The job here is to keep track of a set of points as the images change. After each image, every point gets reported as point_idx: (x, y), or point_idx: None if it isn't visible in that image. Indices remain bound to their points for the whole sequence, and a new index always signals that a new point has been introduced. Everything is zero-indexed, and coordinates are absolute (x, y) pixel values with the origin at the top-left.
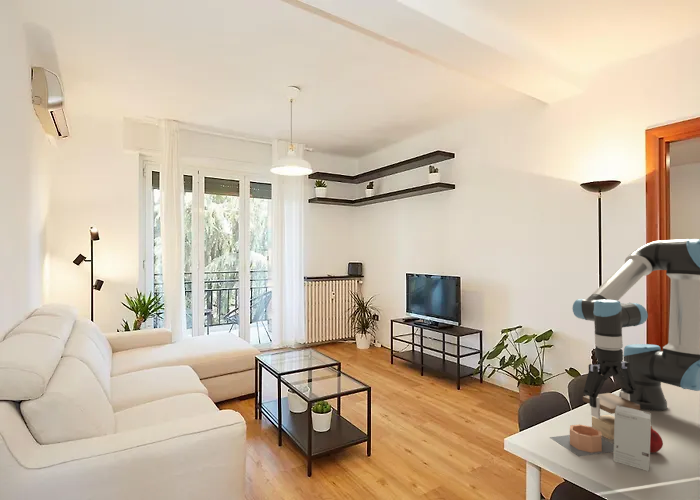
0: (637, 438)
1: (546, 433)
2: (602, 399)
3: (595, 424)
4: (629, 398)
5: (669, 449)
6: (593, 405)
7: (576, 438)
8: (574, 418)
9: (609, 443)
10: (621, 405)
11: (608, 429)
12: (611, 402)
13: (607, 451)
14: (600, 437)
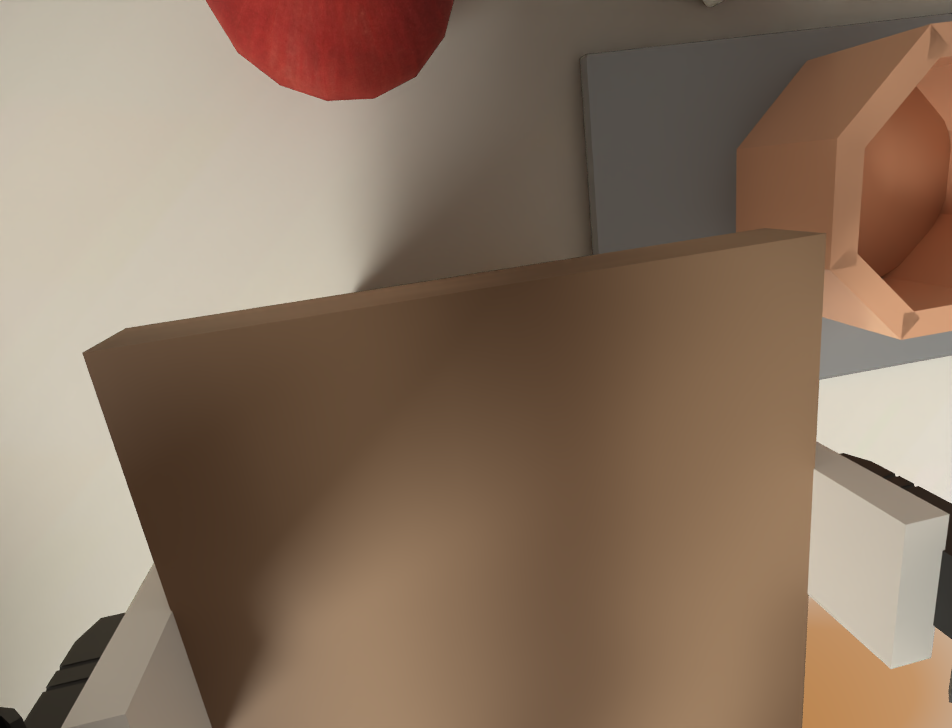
0: None
1: (928, 435)
2: (622, 643)
3: None
4: (120, 642)
5: (68, 58)
6: (872, 468)
7: None
8: None
9: (620, 202)
10: (510, 368)
11: None
12: (576, 518)
13: (759, 52)
14: (927, 28)
